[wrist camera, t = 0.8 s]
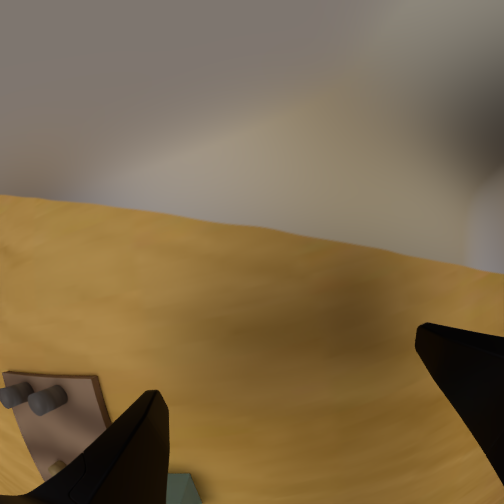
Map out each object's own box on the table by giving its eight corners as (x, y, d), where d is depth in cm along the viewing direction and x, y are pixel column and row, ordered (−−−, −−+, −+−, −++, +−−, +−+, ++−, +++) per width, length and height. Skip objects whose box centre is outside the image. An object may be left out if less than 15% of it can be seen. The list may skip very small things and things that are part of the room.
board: (160, 526, 16) (150, 553, 11) (66, 506, 15) (49, 524, 10) (97, 376, 20) (66, 390, 14) (8, 371, 19) (-22, 377, 13)
